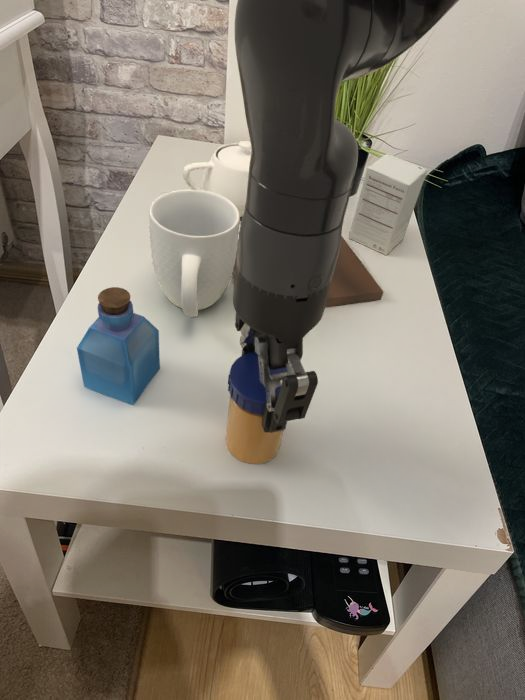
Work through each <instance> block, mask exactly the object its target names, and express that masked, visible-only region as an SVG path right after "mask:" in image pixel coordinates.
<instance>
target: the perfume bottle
mask: <svg viewBox="0 0 525 700" xmlns="http://www.w3.org/2000/svg"><path fill="white" fill-rule="evenodd" d="M131 297H132V295H131V293H130V292H129V291H128V290H127V289H125V288H123V287H119V286H112V287H107V288H105V289H103V290H101V291H99V293H98V295H97V300H98V304H97V315H98V317H97V318H96V319H95V321H94V322H93V323H92V324H91V325H90V326H89V327H88V329H87V330H86V332H85V334H84V335H83V337H82V339H81V340H80V342H79V344H78V345H77V346H76V352H77V357H78V361H79V362H78V363H79V366H80V367H79V368H80V372H81V377H82V382H83V383H82V384H83V387H84V388H86V389H89V390H92V391H94V392H96V393H99V394H102V395H104V396H107V397H110V398H113V399H115V400H118V401H121V402H123V403H125V404H129V405H131V406H134V405H135V404H136V403H137V401H138V399H139V398H140V397H141V395H142V394H143V393H144V391H145V390H146V389H147V387H148V386H149V384H150V383H151V382H152V380H153V379H154V378H155V376H156V374H158V372H159V370H160V369H161V362H160V361H161V360H160V331H159V329H158V328H157V327H156V326H155V325H154V324H152V323H151V322H150V321H149V320H148V319H147V318H146V317H145V316H143V315H141V314H139V313H135V312H134V305H133V302H132V301H131Z"/></svg>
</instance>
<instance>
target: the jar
mask: <svg viewBox="0 0 525 700" xmlns="http://www.w3.org/2000/svg"><path fill="white" fill-rule="evenodd" d="M262 420H263V415H258V414H254V413H250V412H248V411H246V410H244V409H242V408H241V407H239V406H238V405H237V404H235V402H234V401H233V399H232V398H231V395H230V394H229V401H228V410H227V420H226V429H225V436H224V437H225V438H224V441H225V445H226V448H227V450H228V451H229V453H230V454H231V455H232V456H233V457H234V458H235V459H237V460H239V461H241V462H242V463H246V464H250V465H251V464H252V465H258V464H264V463H266V462H269V461H270V460H272V459H273V458H274V457H276V455H277V454H278V453H279V452H280V449H281V445H282V440H283V437H284V432H285V430H282V431H277V432H272V433H270V432H268V433H266V432H264V430H263V428H262Z"/></svg>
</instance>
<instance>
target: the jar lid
mask: <svg viewBox="0 0 525 700" xmlns="http://www.w3.org/2000/svg"><path fill="white" fill-rule="evenodd" d="M284 372H287V367H285V368H280V369H274V370H272V369H269V375H273V374H279V373H284ZM227 385H228V386H227V392H229V396H230V395H231V398H232V399H233V401H234V402H235V404H237V405H238V406H239V407H241V408H242V409H244V410H246V411H248V412H250V413H254V414H258V415H263V414H264V409H265V403H266V389H265V387H264V386H263V385H262V384H261V383H260V379H259V362H258V354H257V353H256V352H250V353H247V354H244V355H242V354H241V356H239V357H237V358H236V359H235V360H234V362H233V364H232V365H231V367H230V370H229V374H228V378H227ZM280 389H281V386H280V387H277V388H276V389H275V396H278V395H279V392H280Z"/></svg>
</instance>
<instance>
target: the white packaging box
mask: <svg viewBox="0 0 525 700" xmlns="http://www.w3.org/2000/svg"><path fill="white" fill-rule="evenodd" d="M427 173H428V169H427V168H425V167H423V166H421V165H418V164H416V163H412V162H410V161H407V160H405V159H402V158H399V157H397V156H394V155H392V154H389V153H386V154H384V155H383V156H381V157H380V158H378V159H377V160H376V161H375V162H373V163H372V164H370V165H369V166H368V167H366V171H365V176H364V179H363V183H362V186H361V190H360V193H359V198H358V200H357V205H356V209H355V212H354V216H353V219H352V224H351V227H350V231H349V236H348V238H349V239H350V240H352V241H354V242H356V243H359V244H360V245H363V246H365V247H367V248H369V249H371V250H373V251H376V252H378V253H380V254H383V255H385V256H387V255H388V254H390V252H391V251H393V249H394V248H396V246H397V245H398V244H400V242H401V241H402V240H403V239H404V238H405V235H406V233H407V230H408V227H409V225H410V221H411V218H412V215H413V213H414V210H415V207H416V205H417V201H418V198H419V195H420V193H421V189H422V188H423V187H422V186H423V184H424V181H425V179H426V175H427Z"/></svg>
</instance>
